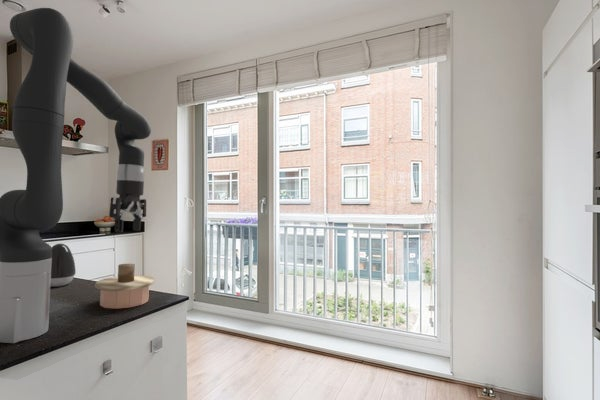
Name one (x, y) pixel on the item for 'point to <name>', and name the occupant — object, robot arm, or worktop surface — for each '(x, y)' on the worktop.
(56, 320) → the worktop surface
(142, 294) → the bowl
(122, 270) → the lid
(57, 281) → the pump dispenser
